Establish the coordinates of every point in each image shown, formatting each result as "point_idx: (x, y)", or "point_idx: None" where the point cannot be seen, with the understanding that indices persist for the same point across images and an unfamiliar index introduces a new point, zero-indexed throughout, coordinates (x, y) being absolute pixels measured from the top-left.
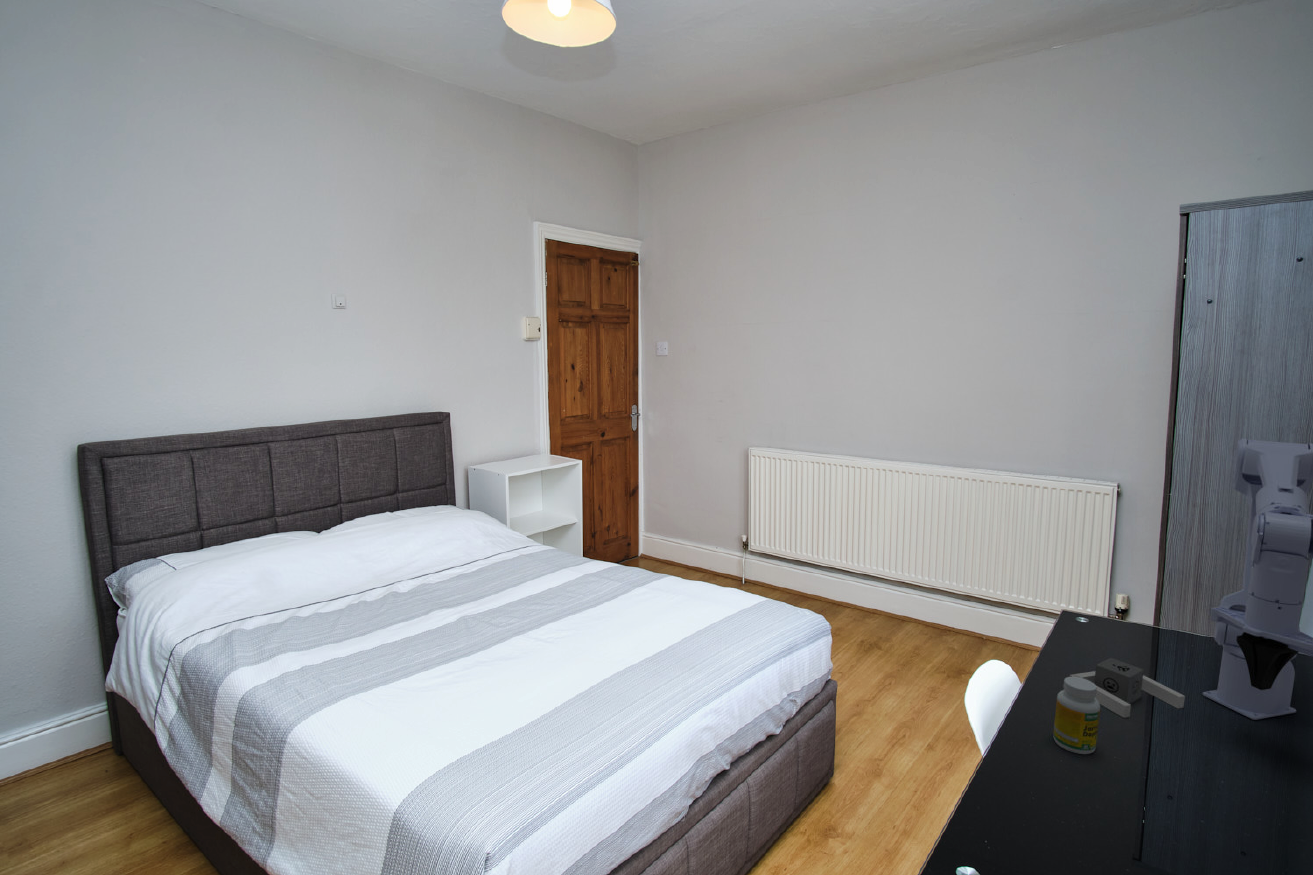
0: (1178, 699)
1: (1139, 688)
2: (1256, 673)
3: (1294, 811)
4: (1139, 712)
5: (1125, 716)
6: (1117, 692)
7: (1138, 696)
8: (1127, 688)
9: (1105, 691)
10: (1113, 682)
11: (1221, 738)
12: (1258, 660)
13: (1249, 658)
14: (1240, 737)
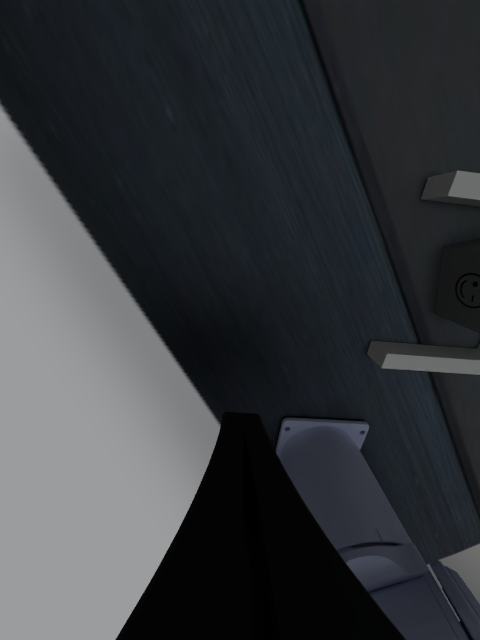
0: (384, 350)
1: (457, 312)
2: (249, 466)
3: (49, 156)
4: (412, 246)
5: (427, 183)
6: None
7: (440, 306)
8: None
9: None
10: None
11: (275, 309)
12: (237, 559)
13: (297, 543)
14: (262, 346)
